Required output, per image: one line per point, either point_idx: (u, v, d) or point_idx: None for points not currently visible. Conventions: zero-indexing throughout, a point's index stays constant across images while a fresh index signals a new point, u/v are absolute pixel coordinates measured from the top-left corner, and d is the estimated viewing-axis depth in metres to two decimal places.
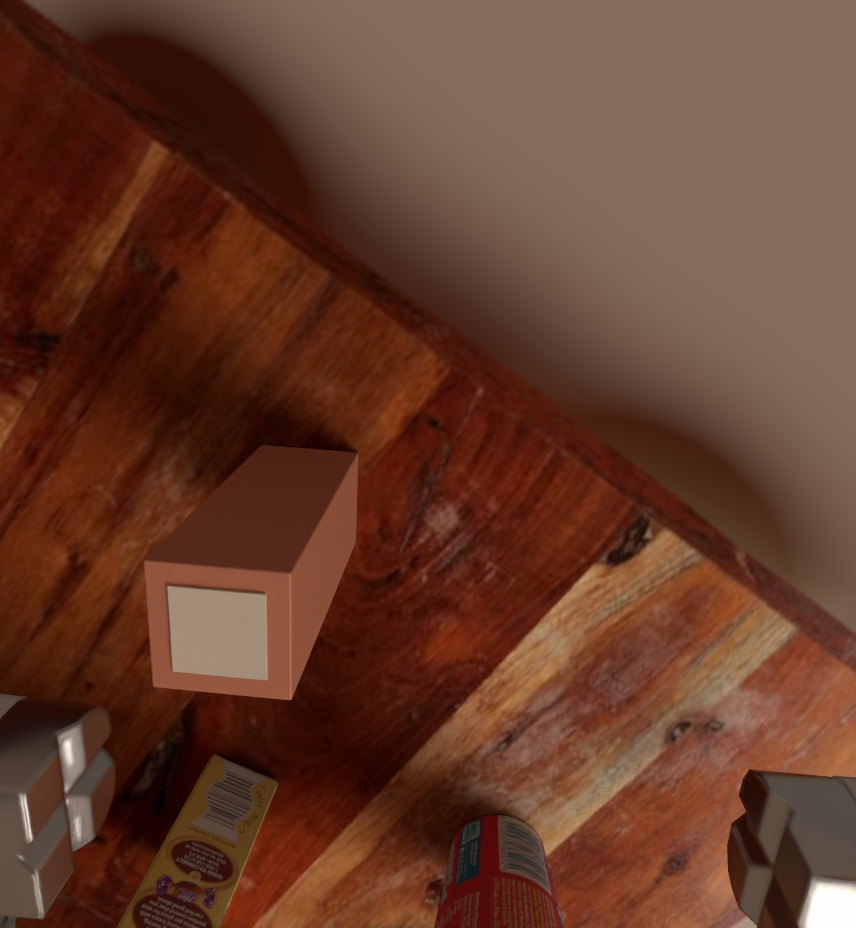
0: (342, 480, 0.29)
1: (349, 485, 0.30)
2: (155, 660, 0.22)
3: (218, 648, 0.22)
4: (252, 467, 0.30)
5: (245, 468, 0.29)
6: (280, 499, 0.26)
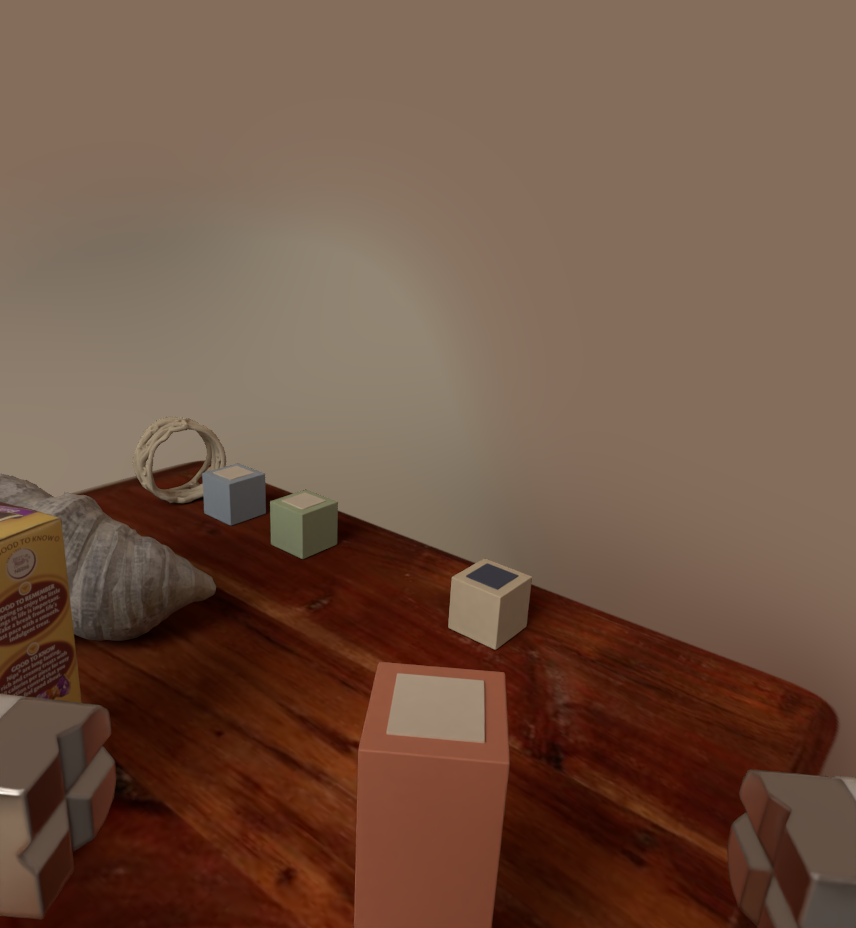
0: None
1: None
2: (407, 666, 0.25)
3: (420, 704, 0.23)
4: None
5: None
6: None
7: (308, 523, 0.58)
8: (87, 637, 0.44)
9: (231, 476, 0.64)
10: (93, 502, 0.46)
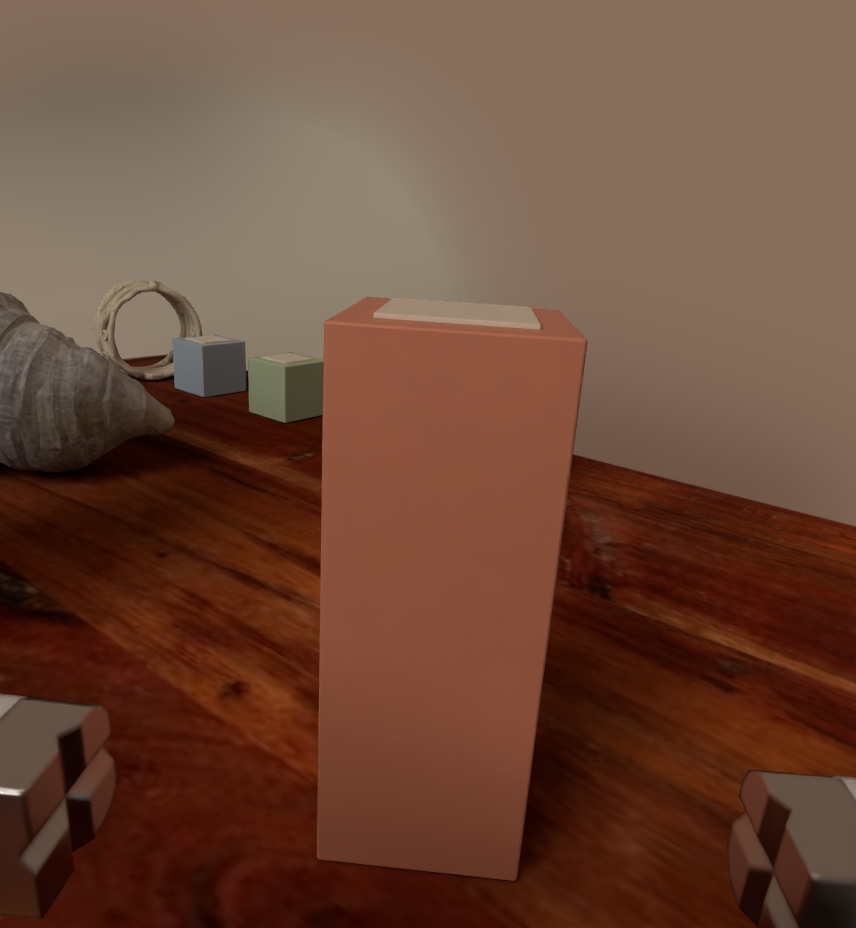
0: (533, 741, 0.15)
1: (489, 798, 0.15)
2: None
3: (430, 312, 0.14)
4: None
5: None
6: None
7: (292, 379, 0.49)
8: (6, 459, 0.35)
9: (206, 341, 0.55)
10: (22, 305, 0.38)
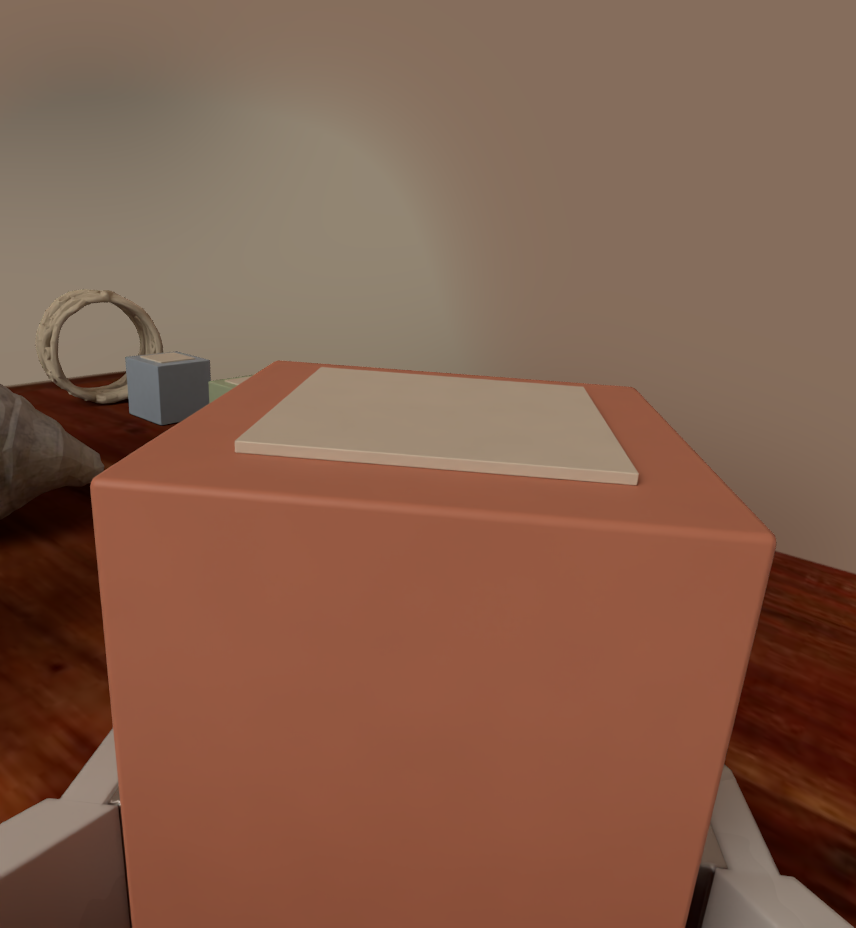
0: None
1: None
2: (353, 366, 0.09)
3: (383, 412, 0.07)
4: None
5: None
6: None
7: None
8: None
9: (163, 360, 0.48)
10: None
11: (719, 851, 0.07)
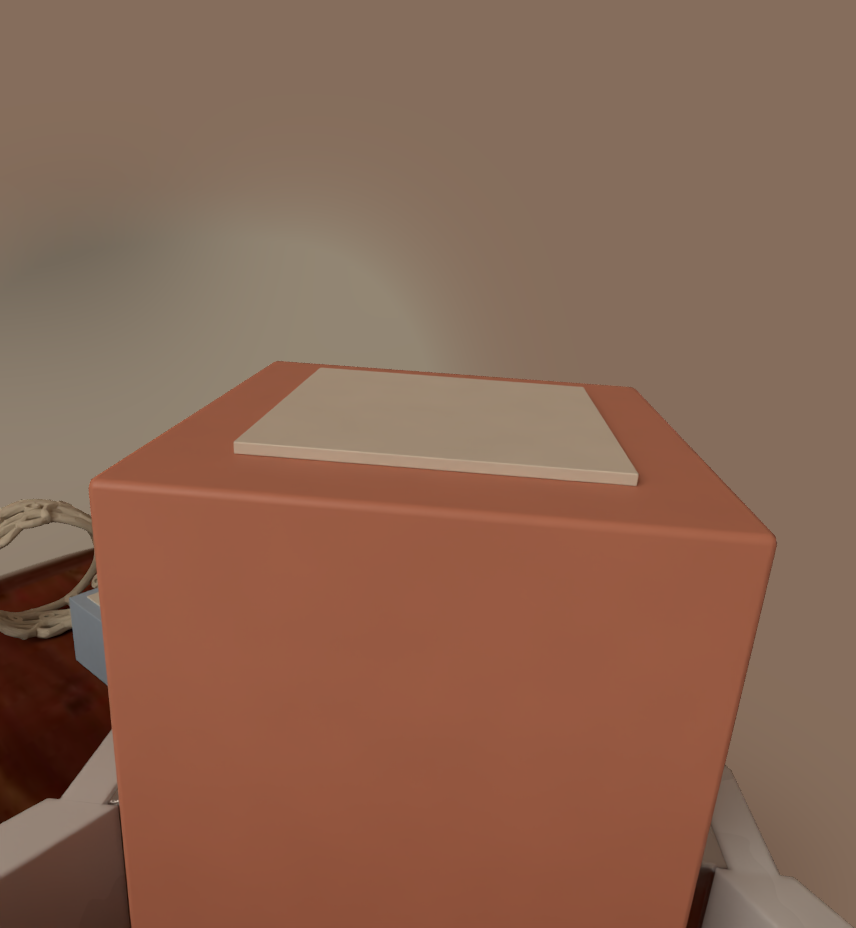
0: None
1: None
2: None
3: (382, 412, 0.07)
4: None
5: None
6: None
7: None
8: None
9: None
10: None
11: (719, 851, 0.07)
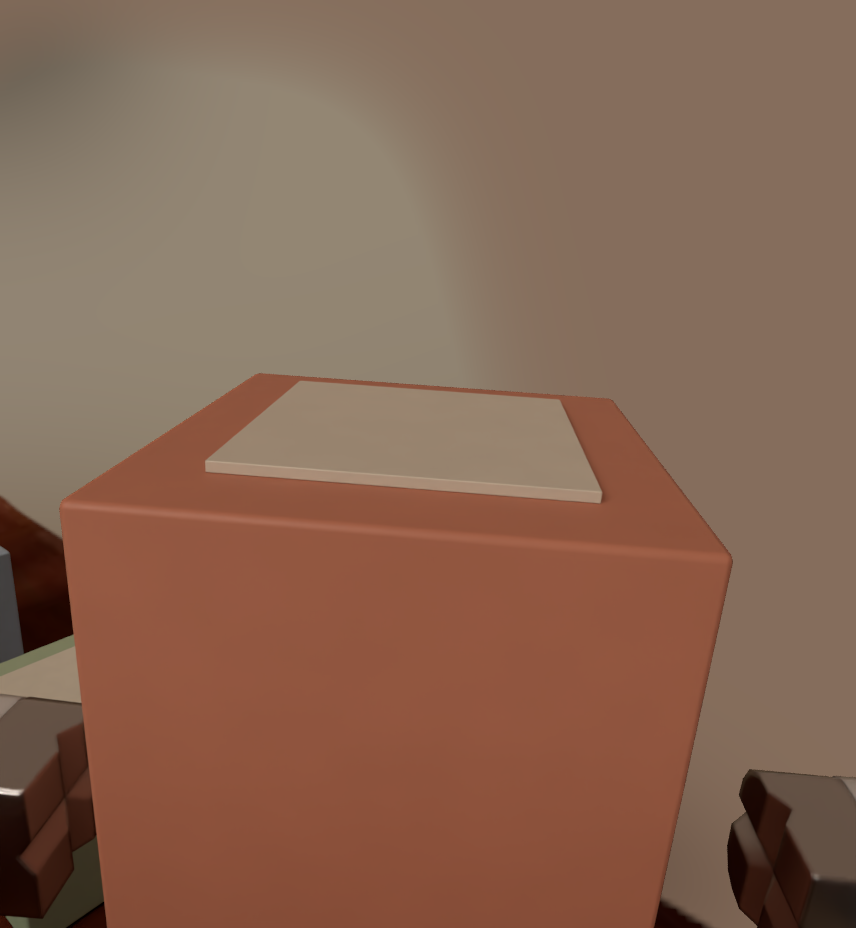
0: None
1: None
2: (333, 379, 0.09)
3: (358, 427, 0.07)
4: None
5: None
6: None
7: None
8: None
9: None
10: None
11: None
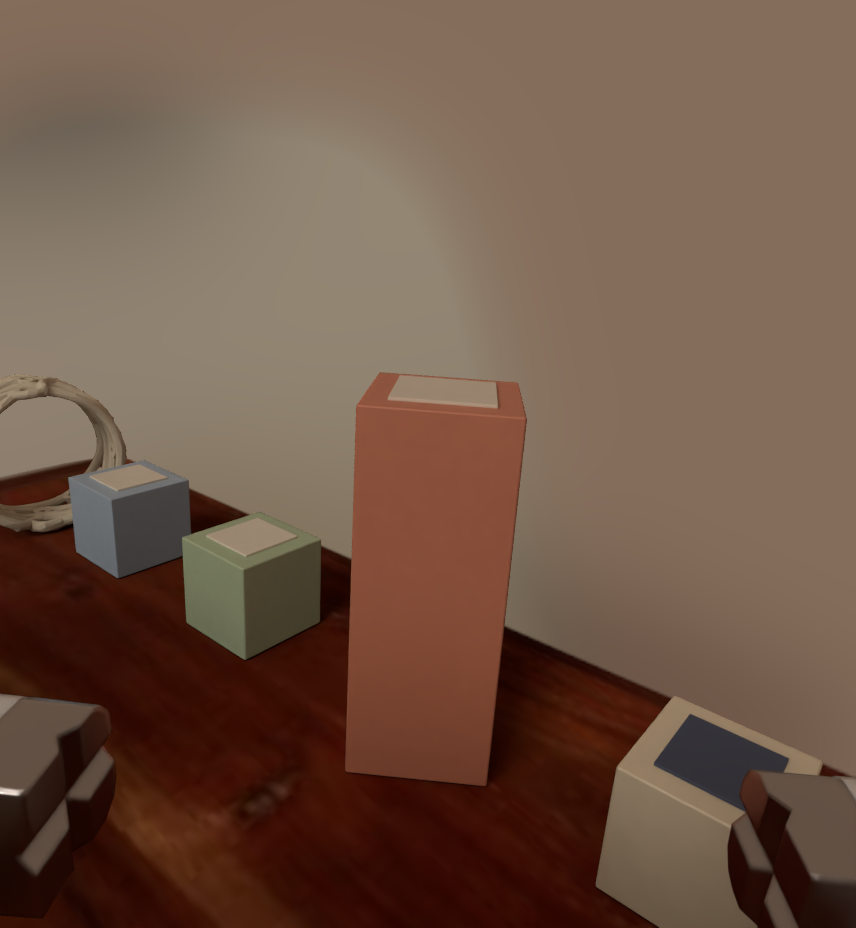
0: (496, 684, 0.21)
1: (466, 725, 0.22)
2: None
3: None
4: None
5: None
6: None
7: (257, 586, 0.27)
8: None
9: (122, 484, 0.34)
10: None
11: None
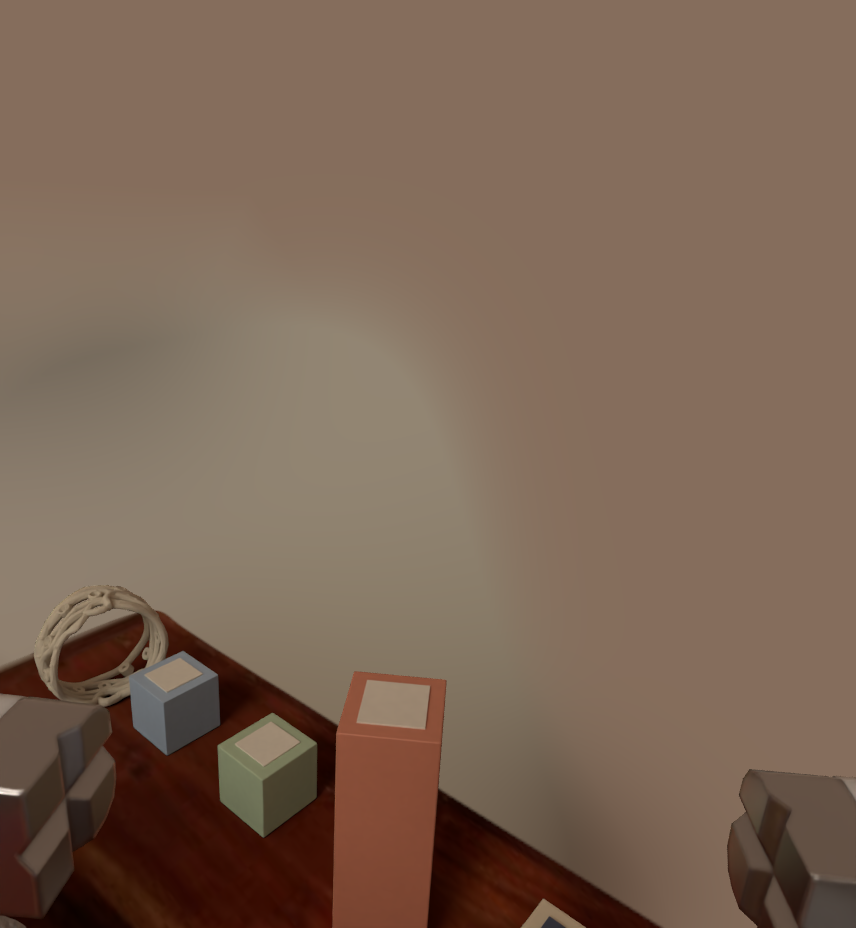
0: (429, 890, 0.33)
1: (410, 913, 0.33)
2: (374, 674, 0.34)
3: (382, 702, 0.32)
4: None
5: None
6: None
7: (272, 788, 0.39)
8: None
9: (169, 684, 0.45)
10: None
11: None
